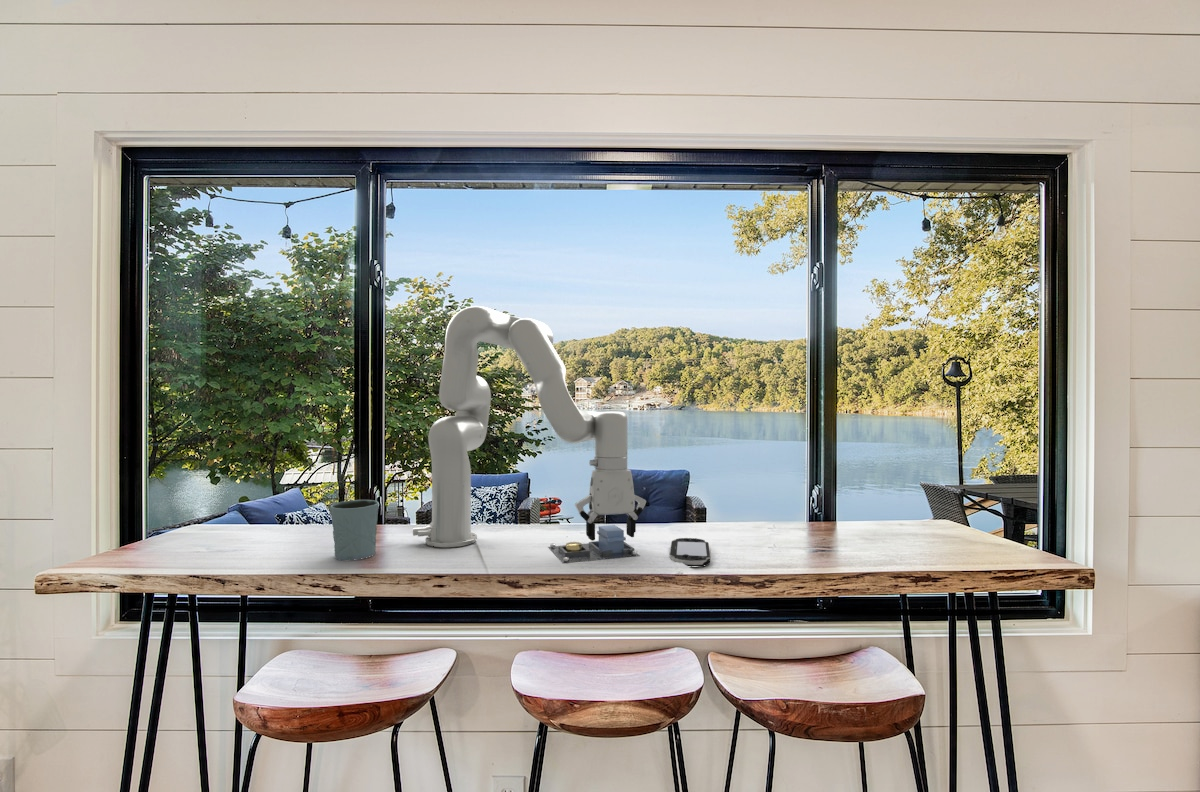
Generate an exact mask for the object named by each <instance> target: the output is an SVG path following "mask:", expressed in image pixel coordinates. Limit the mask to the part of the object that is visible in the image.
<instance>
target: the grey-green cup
mask: <svg viewBox="0 0 1200 792" xmlns="http://www.w3.org/2000/svg"><path fill="white" fill-rule="evenodd" d="M379 504H380V503H379V501H377V500H373V499H351V500H343V501H340V502H339V501H338V502H336V503H333V504H331V505H330V506H329V507H330V508H329V509H330V513H331V515H330V516H331V525H332V529H333V530H332V535H333V536H332V537H333V541H334V544H333V545H334V547H333V548H334V558H335V559H336V558H337V559H340V560H339V561H342V560H354V559H361V558H366V557H369V556H372V555H374V556H375V554H376V547H377V546H376V543H377V524H378V514H379ZM372 557H373V556H372ZM369 558H370V557H369ZM337 559H336V560H337ZM366 559H367V558H366ZM354 561H355V560H354Z"/></svg>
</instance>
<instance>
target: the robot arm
mask: <svg viewBox="0 0 1200 792" xmlns="http://www.w3.org/2000/svg"><path fill="white" fill-rule="evenodd" d="M444 338H445V339H444V352H443V354H444V355H443V360H442V368H441V374H440V382H439V390H438V398H439V402H440V404H441V405H442V407H444V408H445V409H446V410H448V411H452V412H455V415H448V416H444V417H441V418H439V419H437V420H436V421H434V423H433V424H432V425H431V427H430V429H429V431H428V447H429V452H430V453H429V454H430V459H431V522H430V523H429V525H426V526H425V527H421V526H420V527H419V526H418V527H412V537H413V536H414V537H415V536H417V537H424V536H425V542H424V543H425V544H426V545H427V546H429V547H433V546H434V547H435V548H456V547H457V548H458V547H463V546H464V547H465V546H468V545H469V546H470V545H471V544H473V543H475V542H477V539H478V535H477V534H476V533H474V532H472V529H471V527H472V523H471V522H472V519H471V517H472V511H471V510H472V470H471V469H472V468H471V462H470V459H469V454H468V452H471V451H474V450H477V449H478V448H479V447H481V446H482V445H483V443H485V440H486V436H487V432H488V425H489V417H490V411H491V403H492V402H491V401H492V400H491V399H492V393H491V388H490V386H489V384H488V382H487V381H486V380H485V379H484V378H483V377H481V376H479V375H477V374H478V366H479V351H478V343H480V342H482V343H485V344H491V345H496V346H499V347H504V348H508V349H511V350H514V351H515V352H514V353H516V356H517V357H518V359H519V360H520V362H521V364H522V365H523V367H524V369H525V370H526V372H527V373H528V375H529V377H530V379H531V380H532V382H533V385H534V387H535V393H536V395H537V398H538V401H539V404H540V407H541V409H542V411H543V414H544V416H545V417H546V419H547V421H548V422H549V424H550V426H551V427H552V429H553V430H554V432H555V434H556V435H557V436H558V438H560V439H561V440H562V441H563V442H565V443H568V444H579V443H584V442H587V441H594V440H595V441H594V442H595V443H594V444H595V447H594V448H595V450H594V451H595V452H594V456H593V457H594V459H590V460H589V466H590V467H594V469H593V470H592V471H591V472H592V473H591V477H590V483H589V493H588V495H586V496H585V497H583V498H582V499H581V500H579V501H577V502H576V503H575V504H574V507H575V508H576V510H577V513H578V515H579V516H580V517H581V518H582V519H584V521H585V522H586V523H585V525H586V527H585V533H586V537H587V538H588V539H589V540H590V541H591V542H593V541H595V540H596V523H595V522H594V520H596V518H597V517H598V516H607V515H609V516H610V515H611V516H612V515H624V514H625V515H627V517H626V535H627V536H629V537H630V538H634V537H635V533H636V532H637V530H636V527H637V526H636V524H637V520H638V518H639V516H640V515H641V514H642V512H643V510H644V508H645V506H646V503H647V500H646V499H645V498H643V497H640V496H639V495H636V494H635V490H634V486H635V485H634V481H633V480H634V479H633V474H632V470H631V469H629V468H628V415H627V414H626V413H625V412H623V411H617V410H616V411H609V410H608V411H606V410H605V411H594V410H593V411H592V410H587V409H586V410H585V409H579V407H578V406H577V404H576V403H575V401H574V400H573V397H572V396H571V393H570V392H569V390H568V387H567V384H566V383H567V382H566V375H567V369H566V366H565V364H564V362H563V360H562V359H561V358H560V356H559V354H558V352H557V350H556V349H555V348H554V346H553V343H554V335H553V332H552V329H551V328H550V327H549V326H548V325H547V324H545V323H544V322H542V321H539V320H536V319H533V318H530V317H525V318H523V317H522V318H521V317H519V316H515V315H509V314H507V313H503V312H502V311H501V312H500V311H497V310H495V309H492V308H490V307H486V306H483V305H482V306H481V305H473V306H472V305H471V306H467V307H464V308H462V309H461V310H459V311H458V312H456V313H455V314H454V315H453V316H452V318H451V319H450V320H449V323H448V325H447V327H446V331H445V337H444ZM636 502H637V505H635V504H636ZM586 505H588V507H589V508H588V509H589V510H588V512H586V511H585V509H584V507H585V506H586ZM635 506H636V507H635Z"/></svg>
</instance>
